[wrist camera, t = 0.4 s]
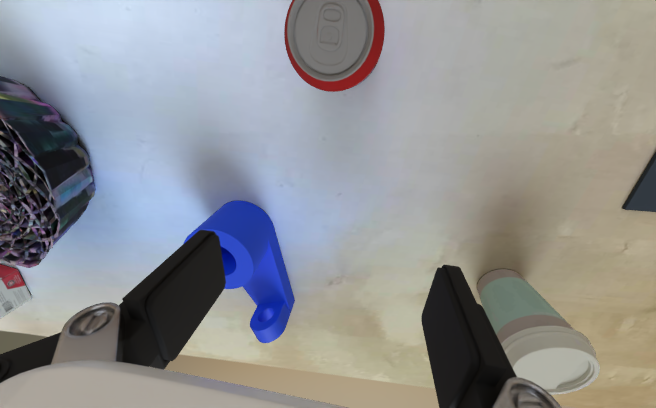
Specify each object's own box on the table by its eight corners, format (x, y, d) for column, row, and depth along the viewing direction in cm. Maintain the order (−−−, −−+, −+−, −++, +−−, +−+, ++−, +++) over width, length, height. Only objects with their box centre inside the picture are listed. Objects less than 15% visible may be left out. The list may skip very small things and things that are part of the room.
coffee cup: (489, 315, 38) (534, 406, 28) (453, 281, 37) (487, 364, 26) (548, 288, 35) (625, 380, 24) (511, 249, 33) (578, 330, 23)
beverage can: (310, 81, 28) (273, 84, 17) (318, 5, 25) (278, -48, 14) (371, 91, 28) (372, 100, 17) (387, 15, 24) (399, -33, 14)
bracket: (205, 207, 38) (169, 236, 31) (259, 194, 35) (233, 222, 28) (258, 304, 45) (239, 345, 38) (306, 299, 43) (294, 341, 36)
